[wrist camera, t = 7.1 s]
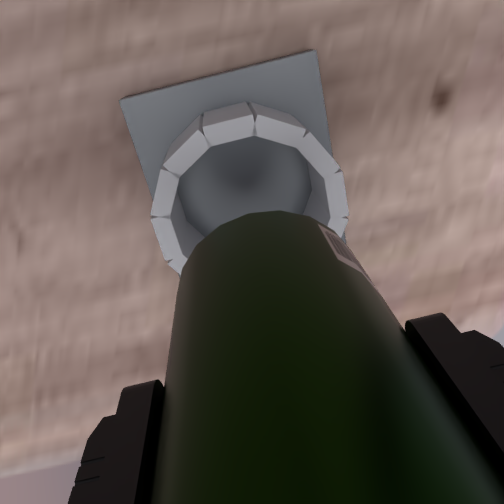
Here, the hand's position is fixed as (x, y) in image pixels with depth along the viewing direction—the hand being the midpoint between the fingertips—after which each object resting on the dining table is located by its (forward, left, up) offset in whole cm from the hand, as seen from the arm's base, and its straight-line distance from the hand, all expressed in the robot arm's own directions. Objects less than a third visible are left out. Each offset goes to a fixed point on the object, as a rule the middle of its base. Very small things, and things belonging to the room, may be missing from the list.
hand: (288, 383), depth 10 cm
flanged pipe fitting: (0, 0, -16) cm, 16 cm away
